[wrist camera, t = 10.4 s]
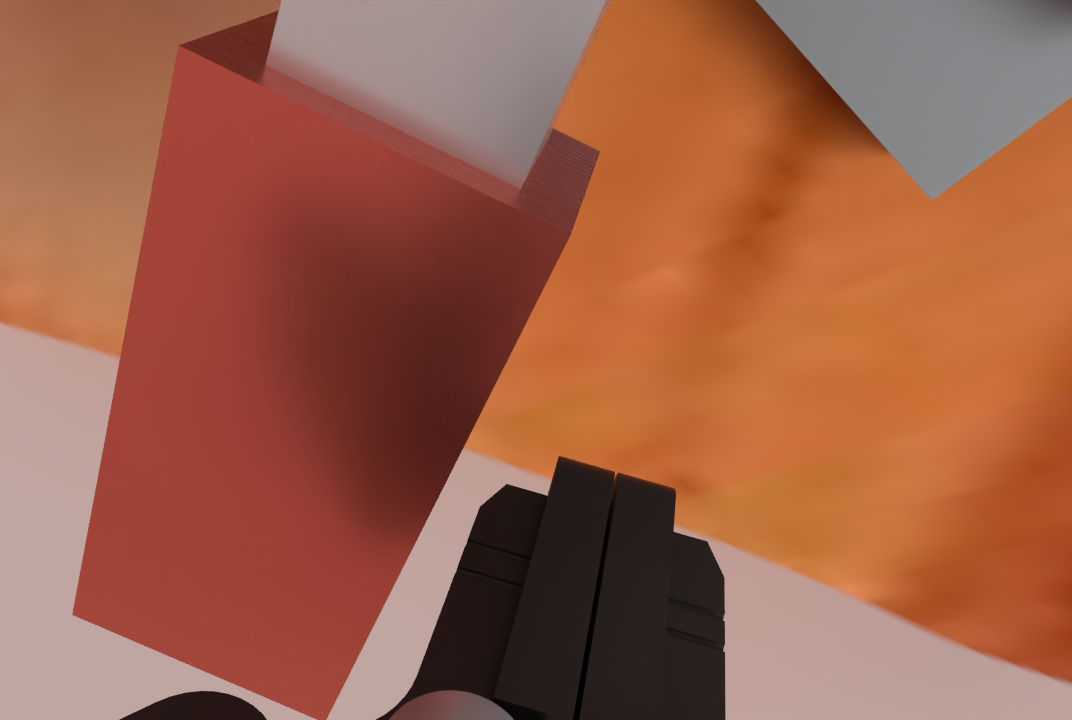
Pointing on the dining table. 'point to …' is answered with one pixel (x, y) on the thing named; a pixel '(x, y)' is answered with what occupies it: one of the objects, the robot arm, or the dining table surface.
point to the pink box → (324, 318)
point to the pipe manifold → (938, 72)
